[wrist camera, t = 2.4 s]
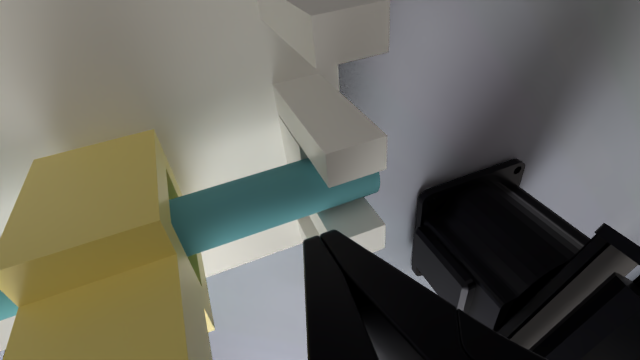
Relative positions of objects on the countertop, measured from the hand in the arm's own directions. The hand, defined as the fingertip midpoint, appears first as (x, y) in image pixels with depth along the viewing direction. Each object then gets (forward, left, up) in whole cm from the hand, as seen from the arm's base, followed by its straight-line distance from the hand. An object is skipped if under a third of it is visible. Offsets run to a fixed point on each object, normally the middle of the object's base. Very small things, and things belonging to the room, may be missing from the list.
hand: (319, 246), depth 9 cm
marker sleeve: (+5, 0, -4) cm, 6 cm away
